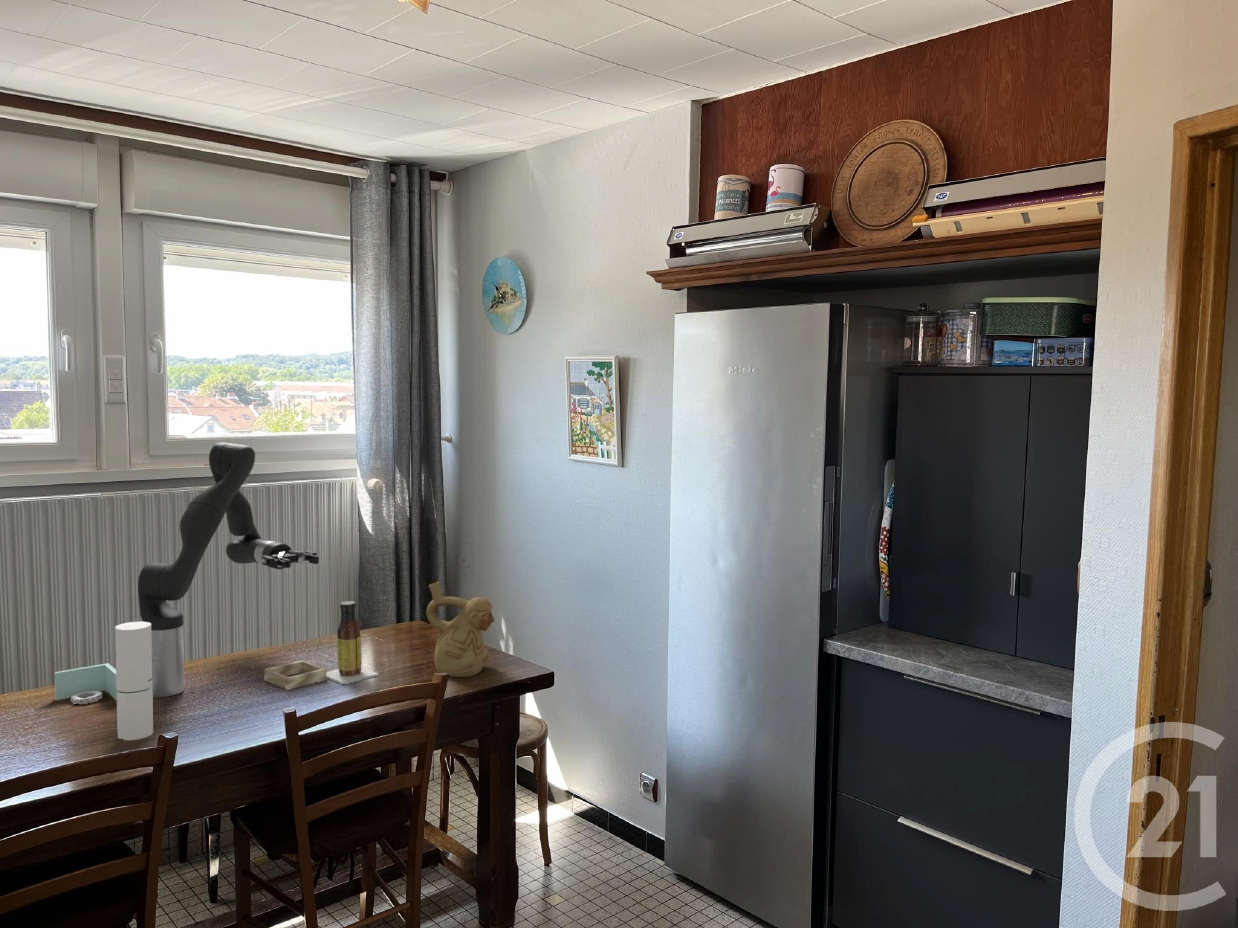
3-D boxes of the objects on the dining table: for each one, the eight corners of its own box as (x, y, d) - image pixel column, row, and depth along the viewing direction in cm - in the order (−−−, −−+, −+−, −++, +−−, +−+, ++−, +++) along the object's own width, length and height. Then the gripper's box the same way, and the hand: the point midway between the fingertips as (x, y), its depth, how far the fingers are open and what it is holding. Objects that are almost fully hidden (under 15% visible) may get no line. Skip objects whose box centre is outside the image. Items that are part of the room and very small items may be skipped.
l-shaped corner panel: (55, 701, 230) (54, 672, 230) (108, 691, 238) (108, 663, 238) (67, 715, 221) (66, 684, 221) (122, 704, 230) (121, 674, 229)
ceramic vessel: (484, 682, 251) (485, 591, 249) (415, 677, 254) (416, 587, 252) (502, 664, 267) (503, 579, 265) (437, 659, 270) (437, 575, 268)
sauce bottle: (352, 668, 259) (352, 598, 257) (366, 672, 255) (366, 601, 253) (332, 673, 254) (332, 602, 252) (345, 678, 250) (345, 605, 248)
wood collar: (287, 689, 241) (287, 678, 241) (264, 680, 248) (264, 669, 248) (326, 679, 250) (326, 668, 250) (303, 670, 257) (303, 660, 257)
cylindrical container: (158, 728, 213) (156, 621, 211) (144, 740, 206) (141, 630, 204) (127, 728, 213) (125, 621, 210) (111, 739, 205) (108, 629, 203)
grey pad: (343, 684, 246) (343, 682, 246) (320, 675, 253) (320, 673, 253) (378, 675, 255) (378, 673, 254) (354, 666, 262) (354, 664, 262)
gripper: (249, 544, 263) (280, 551, 253) (295, 539, 274) (326, 546, 264) (250, 570, 264) (280, 578, 253) (295, 564, 275) (326, 572, 264)
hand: (303, 562), depth 259 cm, fingers open, 8 cm apart
